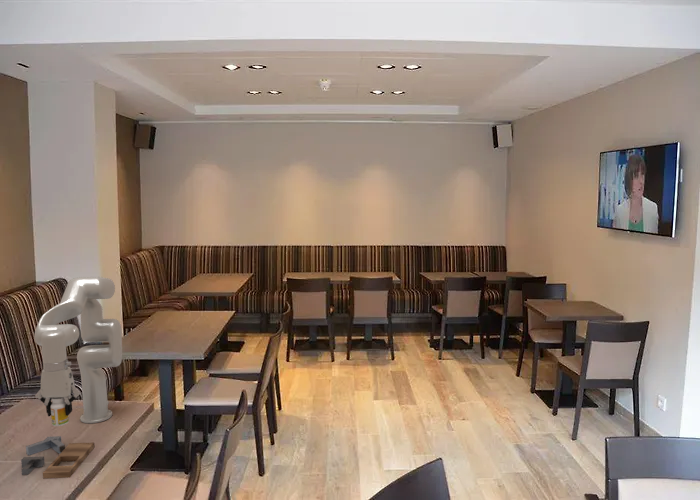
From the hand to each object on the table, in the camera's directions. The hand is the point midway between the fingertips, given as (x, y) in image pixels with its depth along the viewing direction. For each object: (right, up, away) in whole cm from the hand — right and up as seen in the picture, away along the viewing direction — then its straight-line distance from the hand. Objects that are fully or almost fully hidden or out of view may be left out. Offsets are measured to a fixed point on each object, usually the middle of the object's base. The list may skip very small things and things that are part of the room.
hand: (59, 413), depth 205 cm
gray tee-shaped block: (-10, -19, -1) cm, 22 cm away
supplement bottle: (0, -4, 0) cm, 4 cm away
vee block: (-11, -17, +14) cm, 25 cm away
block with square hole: (+2, -19, +4) cm, 19 cm away
